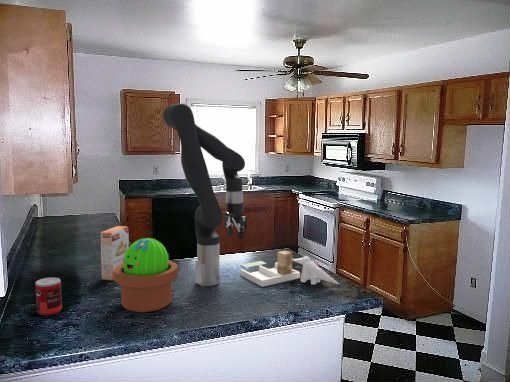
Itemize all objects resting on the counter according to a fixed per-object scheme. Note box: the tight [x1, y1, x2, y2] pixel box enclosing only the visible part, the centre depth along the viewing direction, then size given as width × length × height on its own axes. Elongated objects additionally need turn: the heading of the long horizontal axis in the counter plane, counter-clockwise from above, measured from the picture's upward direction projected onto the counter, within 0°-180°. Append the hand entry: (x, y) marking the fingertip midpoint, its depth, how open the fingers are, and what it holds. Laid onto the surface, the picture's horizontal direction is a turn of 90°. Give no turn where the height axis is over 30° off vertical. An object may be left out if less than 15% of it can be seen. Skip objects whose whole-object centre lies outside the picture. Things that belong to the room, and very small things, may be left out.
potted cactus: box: [113, 237, 179, 313], centre depth 150 cm, size 22×22×25 cm
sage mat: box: [240, 260, 267, 269], centre depth 196 cm, size 12×12×1 cm
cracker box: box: [100, 225, 130, 281], centre depth 181 cm, size 14×6×21 cm, turn 168°
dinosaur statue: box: [292, 255, 340, 285], centre depth 173 cm, size 7×24×11 cm, turn 52°
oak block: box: [276, 250, 293, 275], centre depth 178 cm, size 4×4×11 cm
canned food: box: [35, 276, 63, 317], centre depth 143 cm, size 8×8×11 cm
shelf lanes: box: [239, 261, 301, 287], centre depth 180 cm, size 20×17×4 cm
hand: (235, 237), depth 180 cm, fingers open, 8 cm apart
